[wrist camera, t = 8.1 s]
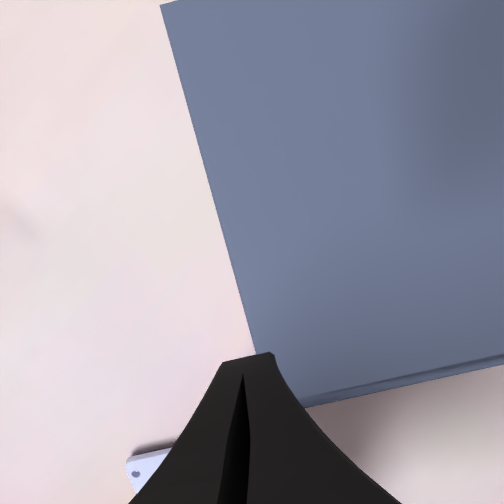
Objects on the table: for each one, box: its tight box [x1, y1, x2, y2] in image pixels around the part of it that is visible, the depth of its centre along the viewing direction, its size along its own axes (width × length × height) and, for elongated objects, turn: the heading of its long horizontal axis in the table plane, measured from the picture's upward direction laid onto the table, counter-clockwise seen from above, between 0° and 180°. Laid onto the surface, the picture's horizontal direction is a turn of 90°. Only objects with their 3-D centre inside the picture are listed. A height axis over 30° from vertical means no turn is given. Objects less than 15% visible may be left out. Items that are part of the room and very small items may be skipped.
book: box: [160, 0, 504, 408], centre depth 18 cm, size 18×13×3 cm
